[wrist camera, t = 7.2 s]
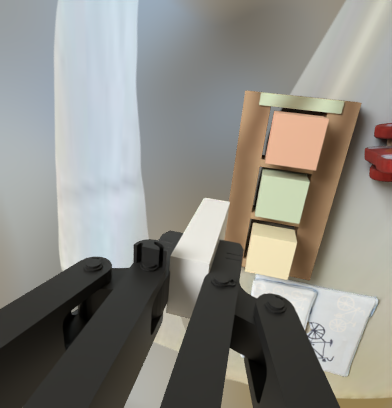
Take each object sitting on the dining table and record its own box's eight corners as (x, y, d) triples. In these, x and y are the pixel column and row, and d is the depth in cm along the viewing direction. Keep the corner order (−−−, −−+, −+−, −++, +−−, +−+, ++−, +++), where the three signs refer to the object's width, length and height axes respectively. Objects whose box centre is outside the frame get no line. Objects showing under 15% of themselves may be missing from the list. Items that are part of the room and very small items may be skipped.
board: (354, 101, 38) (362, 102, 35) (307, 269, 48) (309, 281, 45) (247, 90, 41) (245, 90, 38) (222, 252, 50) (219, 262, 47)
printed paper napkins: (254, 270, 51) (253, 277, 49) (380, 295, 47) (385, 304, 45) (238, 350, 58) (237, 360, 56) (347, 377, 55) (350, 388, 53)
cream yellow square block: (294, 230, 43) (297, 243, 39) (285, 264, 45) (287, 280, 41) (253, 222, 44) (251, 234, 40) (246, 256, 46) (244, 271, 42)
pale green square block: (306, 173, 41) (309, 182, 38) (296, 212, 44) (299, 223, 40) (262, 167, 42) (262, 174, 39) (255, 205, 45) (254, 216, 41)
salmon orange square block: (322, 116, 37) (329, 119, 33) (311, 163, 39) (315, 170, 35) (274, 110, 38) (274, 112, 34) (265, 156, 40) (265, 163, 36)
